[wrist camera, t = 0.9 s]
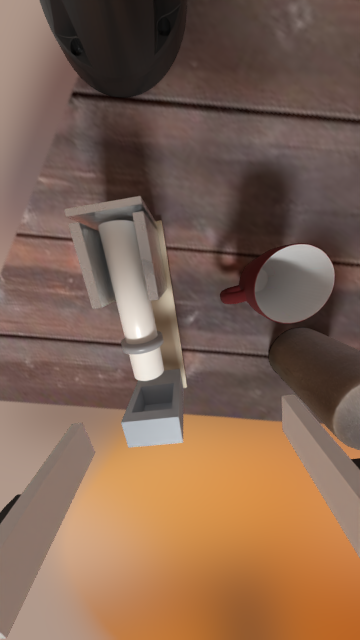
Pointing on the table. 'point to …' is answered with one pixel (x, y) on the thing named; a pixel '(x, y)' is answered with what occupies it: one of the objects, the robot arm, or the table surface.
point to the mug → (285, 283)
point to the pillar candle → (322, 378)
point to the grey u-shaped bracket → (93, 252)
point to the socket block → (155, 411)
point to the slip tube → (132, 299)
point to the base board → (168, 318)
